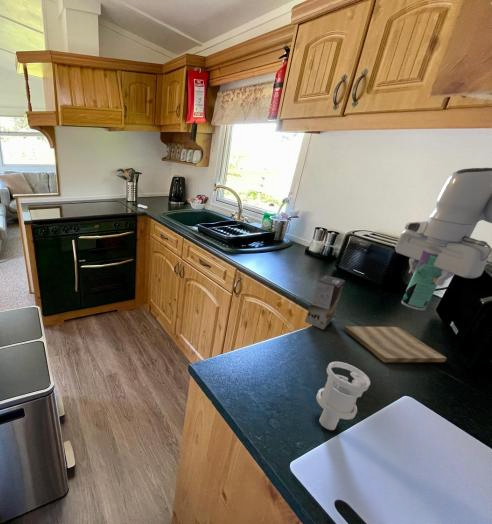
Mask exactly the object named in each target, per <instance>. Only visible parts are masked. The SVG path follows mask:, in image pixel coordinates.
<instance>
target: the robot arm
mask: <svg viewBox="0 0 492 524" xmlns="http://www.w3.org/2000/svg"><path fill="white" fill-rule="evenodd" d="M480 221H484V222H487V223H489V224H492V167H471V168H463V169H459V170H457V171H454V172H453V173H452V174H450V176H449V177H448V178H447V180H446V182H445V183H444V185H443V187H442V189H441V191H440V193H439V194H438V196H437V199H436V201H435V208H434V210H433V212H432V213H431V214H430V215H429V217H428V218H427V221H425V220H424V221H411V222H407V223H406V224H405V226H404V229H405V230H404V231H402V232H401V234H400V235H399V237H398V240H397V241H396V244H395V247H394V249H395V252H396V253H397V254H400V255H403V256H405V257H407V258H409V260H408V264H409V270H408V274H410V275H412V276H413V274H414V271H415V269H416V267H417V265H418V262H419V260H420V258H421V256H422V253H423V251H424V249H426V246H427V247H428V246H435V247H437V248H438V249H439V250H440V251H441V252H438V253H439V255H438V257H437V259H436V260H435V262H434V266H435V267H437V268H440V269H443V270H442V272H441V273H442V276H440V277H439V278H437V277H434V279H433V281H432V283H433V284H435V285H437V287H438V286H440V287H441V286H443V285H444V283H445V282H446V281H447V280H448V279H450V278H452V277H453V276H455V275H456V276H459V277H462V278H464V279H476V278H479V277H481V276H482V275H483V273H484V270H485V269H486V265H487V261H488V258H489V257H490V255H491V254H492V247H491V245H489V244H488V242H487V241H485V240H479V239H476V238H473V237H471V236H472V235H473V233H474V230H475V228H476V227H477V225H478V223H479V222H480Z"/></svg>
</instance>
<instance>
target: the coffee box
mask: <svg viewBox="0 0 492 524" xmlns="http://www.w3.org/2000/svg"><path fill="white" fill-rule="evenodd" d="M345 283H346V280H345V279H341V278H338V277H334V276H331V275H328V274H325V275H324V276H322V277H321V278H319V280H317V282H316V286H315V289H314V292H313V295H312V298H311V301H310V304H309V307H308V310H307V314H306V316H305V319H304V323H306V324H308V325H311V326H313V327H316V328H319V329H321V330H325V329H326V327H327V326H328V325H329V324H330V323H331V322H332V319H333V317H334V314H335V311H336V308H337V306H338V302H339V300H340V297H341V295H342V292H343V289H344V286H345Z"/></svg>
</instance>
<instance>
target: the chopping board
mask: <svg viewBox="0 0 492 524" xmlns="http://www.w3.org/2000/svg"><path fill="white" fill-rule="evenodd" d="M343 331H344V332H346V333H347V334H348V335H349V336H351V338H353V339H354V340H356V341H357V342H358V343H359V344H361V345H362V346H363V347H364V348H366V349H367V350H368V351H369V352H371V354H373V355H374V356H375V357H377V358H378V359H379V360H380V361H382V362H383V363H445V362H446V361H447V359H448V358H447V357H446V356H445V355H443V354H442V353H440V352H438V351H437V350H435V349H433V348H432V347H431V346H429V345H427V344H426V343H424V342H423V341H421V340H420V339H418V338H416V337H414V336H413V335H411V334H410V333H409V332H408V331H405V330H404V329H402V328H400V327H399V326H353V325H350V326H349V325H348V326H347V325H345V327H344V329H343Z"/></svg>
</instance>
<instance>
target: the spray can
mask: <svg viewBox="0 0 492 524" xmlns="http://www.w3.org/2000/svg"><path fill="white" fill-rule="evenodd" d="M438 252H441V251H440V250H439V249H438V248H437V247H435V246H428V247H427V246H426V249H424V251H423V253H422V256H421V258H420V260H419V262H418V265H417V267H416V269H415V271H414V274H413V275H412V276H411V278H410V280H409V283H408V285H407V287H406V289H405V292H404V295H403V297H402V299H401V304H402V305H403V306H405V307H407V308H410V309H412V310H416V311H426V310H427V308H428V306H429V303H430V302H431V299H432V297H433V295H434V293H435V292H436V289H437V287H438V285H435V284H433V283H432V281H433V279H434V277H437V278H439V277H440V276H442V275H443V274H442V273H441V272H442V270H443V269H440V268H437V267H435V266H434V262H435V260H436V259H437V257H438V255H439V253H438Z"/></svg>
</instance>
